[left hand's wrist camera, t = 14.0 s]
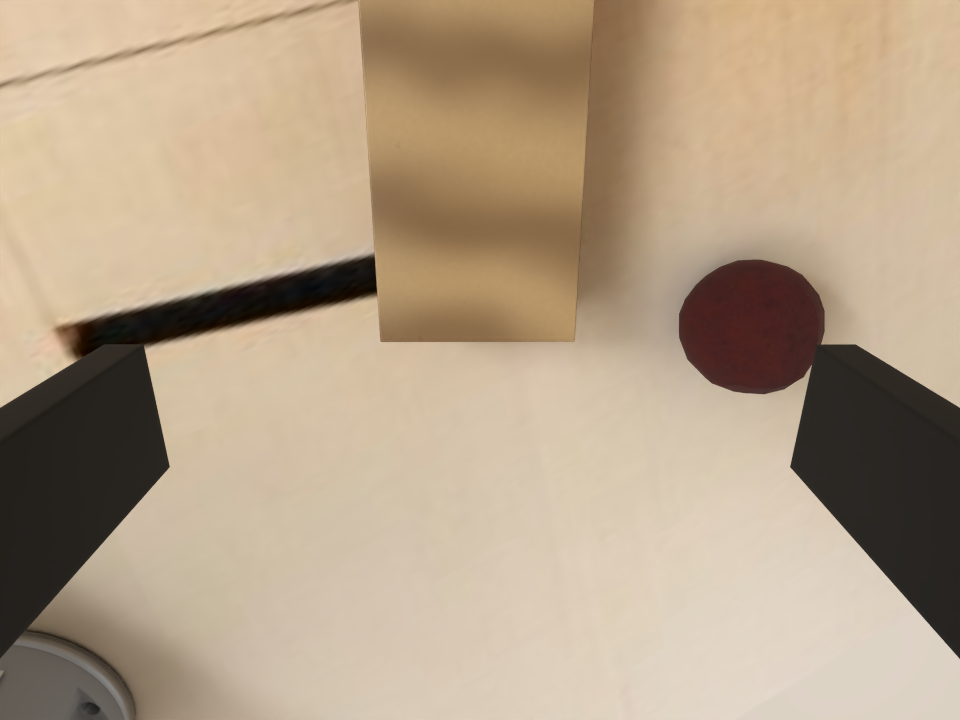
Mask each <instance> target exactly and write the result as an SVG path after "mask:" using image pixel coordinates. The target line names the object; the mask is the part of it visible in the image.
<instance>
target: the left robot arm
mask: <svg viewBox="0 0 960 720" xmlns="http://www.w3.org/2000/svg"><path fill="white" fill-rule="evenodd" d="M169 467H170V466H169V461H168V457H167V452H166V447H165V443H164V438H163V433H162V429H161V424H160V419H159V415H158V410H157V405H156V401H155V396H154V391H153V387H152V382H151V377H150V373H149V368H148V363H147V358H146V354H145V349H144V345H103V346H101V347H100V348H98V349H96V350H95V351H93V352H91V353H90V354H88V355H86V356H85V357H83V358H81V359H80V360H78V361H76V362H75V363H73V364H72V365H70V366H68V367H67V368H65V369H63V370H62V371H60V372H58V373H57V374H55V375H53V376H52V377H50V378H49V379H47V380H45V381H44V382H42V383H40V384H39V385H37V386H35V387H34V388H32V389H30V390H29V391H27V392H26V393H24V394H22V395H21V396H19V397H17V398H16V399H14V400H12V401H11V402H9V403H7V404H6V405H4V406H3V407H1V408H0V720H135V710H134V705H133V701H132V698H131V696H130V694H129V692H128V690H127V688H126V686H125V685H124V683H123V682H122V680H121V679H120V678H119V677H118V675H117V674H116V673H115V672H114V671H113V670H112V669H111V668H110V667H109V666H108V665H107V664H105V663H104V662H103V661H102V660H100V659H99V658H98V657H96V656H95V655H93V654H92V653H90V652H88V651H87V650H85V649H83V648H81V647H79V646H77V645H75V644H73V643H70V642H68V641H66V640H63V639H60V638H57V637H54V636H50V635H46V634H41V633H36V632H29V631H25V630H26V629H27V628H28V627H29V626H30V624H31V623H32V622H33V621H34V620H35V619H36V618H37V617H38V615H39V614H40V613H41V612H42V611H43V610H44V609H45V607H46V606H47V605H48V604H49V603H50V602H51V601H52V600H53V598H54V597H55V596H56V595H57V594H58V593H59V592H60V591H61V589H62V588H63V587H64V586H65V585H66V584H67V583H68V581H69V580H70V579H71V578H72V577H73V576H74V575H75V574H76V572H77V571H78V570H79V569H80V568H81V567H82V566H83V565H84V563H85V562H86V561H87V560H88V559H89V558H90V557H91V555H92V554H93V553H94V552H95V551H96V550H97V549H98V548H99V546H100V545H101V544H102V543H103V542H104V541H105V540H106V538H107V537H108V536H109V535H110V534H111V533H112V532H113V531H114V529H115V528H116V527H117V526H118V525H119V524H120V523H121V522H122V520H123V519H124V518H125V517H126V516H127V515H128V514H129V512H130V511H131V510H132V509H133V508H134V507H135V506H136V505H137V503H138V502H139V501H140V500H141V499H142V498H143V497H144V496H145V494H146V493H147V492H148V491H149V490H150V489H151V488H152V486H153V485H154V484H155V483H156V482H157V481H158V480H159V479H160V477H161V476H162V475H163V474H164V473H165V472H166V471H167V469H168V468H169ZM790 467H791V468H792V469H793V471H794V472H795V473H796V474H797V475H798V476H799V477H800V479H801V480H802V481H803V482H804V483H805V484H806V485H807V486H808V488H809V489H810V490H811V491H812V492H813V493H814V494H815V496H816V497H817V498H818V499H819V500H820V501H821V502H822V503H823V505H824V506H825V507H826V508H827V509H828V510H829V511H830V512H831V514H832V515H833V516H834V517H835V518H836V519H837V520H838V522H839V523H840V524H841V525H842V526H843V527H844V528H845V529H846V531H847V532H848V533H849V534H850V535H851V536H852V537H853V538H854V540H855V541H856V542H857V543H858V544H859V545H860V546H861V548H862V549H863V550H864V551H865V552H866V553H867V554H868V555H869V557H870V558H871V559H872V560H873V561H874V562H875V563H876V565H877V566H878V567H879V568H880V569H881V570H882V571H883V572H884V574H885V575H886V576H887V577H888V578H889V579H890V580H891V581H892V583H893V584H894V585H895V586H896V587H897V588H898V589H899V591H900V592H901V593H902V594H903V595H904V596H905V597H906V598H907V600H908V601H909V602H910V603H911V604H912V605H913V606H914V607H915V609H916V610H917V611H918V612H919V613H920V614H921V615H922V617H923V618H924V619H925V620H926V621H927V622H928V623H929V624H930V626H931V627H932V628H933V629H934V630H935V631H936V632H937V633H938V635H939V636H940V637H941V638H942V639H943V640H944V641H945V643H946V644H947V645H948V646H949V647H950V648H951V649H952V650H953V652H954V653H955V654H956V655H957V656H958V657H959V658H960V408H959V407H957V406H956V405H954V404H953V403H951V402H949V401H948V400H946V399H944V398H943V397H941V396H939V395H938V394H936V393H934V392H933V391H931V390H930V389H928V388H926V387H925V386H923V385H921V384H920V383H918V382H916V381H915V380H913V379H911V378H910V377H908V376H907V375H905V374H903V373H902V372H900V371H898V370H897V369H895V368H893V367H892V366H890V365H888V364H887V363H885V362H884V361H882V360H880V359H879V358H877V357H875V356H874V355H872V354H870V353H869V352H867V351H865V350H864V349H862V348H860V347H859V346H857V345H816V349H815V354H814V358H813V363H812V368H811V373H810V377H809V382H808V387H807V391H806V396H805V401H804V405H803V410H802V415H801V419H800V424H799V429H798V433H797V438H796V443H795V447H794V452H793V457H792V461H791V466H790Z"/></svg>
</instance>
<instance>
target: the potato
mask: <svg viewBox="0 0 960 720" xmlns="http://www.w3.org/2000/svg"><path fill="white" fill-rule="evenodd" d="M823 335H824V308H823V305H822V302H821V300H820V297H819V295H818V293H817V292H816V291H815V290H814V288H813V287H812V286H811V285H810V283H809V282H808V281H807V280H806V279H805V278H804V277H803V275H801V274H800V273H798V272H796V271H794V270H793V269H791V268H789V267H787V266H783V265H780V264H776V263H772V262H768V261H764V260H739V261H735V262H733V263H730V264H727V265H724V266H722V267H719V268H718V269H716V270H715V271H713V272H711V273H710V274H708V275H707V276H705V277H704V278H703V279H702V280H701V281H700V282H699V283H698V284H697V285H696V286H695V287H694V289H693V290H692V291H691V292H690V294H689V295H688V296H687V298H686V299H685V301H684V304H683V306H682V308H681V311H680V313H679V338H680V341H681V343H682V346H683V349H684V351H685V354H686V356H687V359H688V360H689V361H690V362H691V363H692V365H693V366H694V367H695V368H696V369H697V370H698V371H699V372H700V373H701V374H702V375H703V376H704V377H705V378H706V379H708V380H709V381H710V382H711V383H712V384H715V385H718V386H721V387H723V388H726V389H729V390H731V391H735V392H741V393H754V394H767V393H771V392H775V391H779V390H783V389H785V388H787V387H788V386H790V385H791V384H793V383H794V382H796V381H798V380H799V379H801V378H803V377H804V376H805V374H806V372H807V371H808V369H809V368H810V366H811V365H812V363H813V358H814V354H815V349H816V345H821V342H822V339H823Z"/></svg>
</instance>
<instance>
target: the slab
mask: <svg viewBox="0 0 960 720" xmlns="http://www.w3.org/2000/svg"><path fill="white" fill-rule="evenodd" d="M358 2H359V18H360V33H361V48H362V64H363V79H364V95H365V110H366V126H367V141H368V156H369V172H370V187H371V203H372V218H373V234H374V249H375V264H376V280H377V295H378V311H379V326H380V341H381V342H573V341H575V325H576V308H577V291H578V274H579V257H580V240H581V223H582V206H583V188H584V171H585V154H586V137H587V120H588V103H589V86H590V69H591V52H592V34H593V17H594V0H358Z"/></svg>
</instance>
